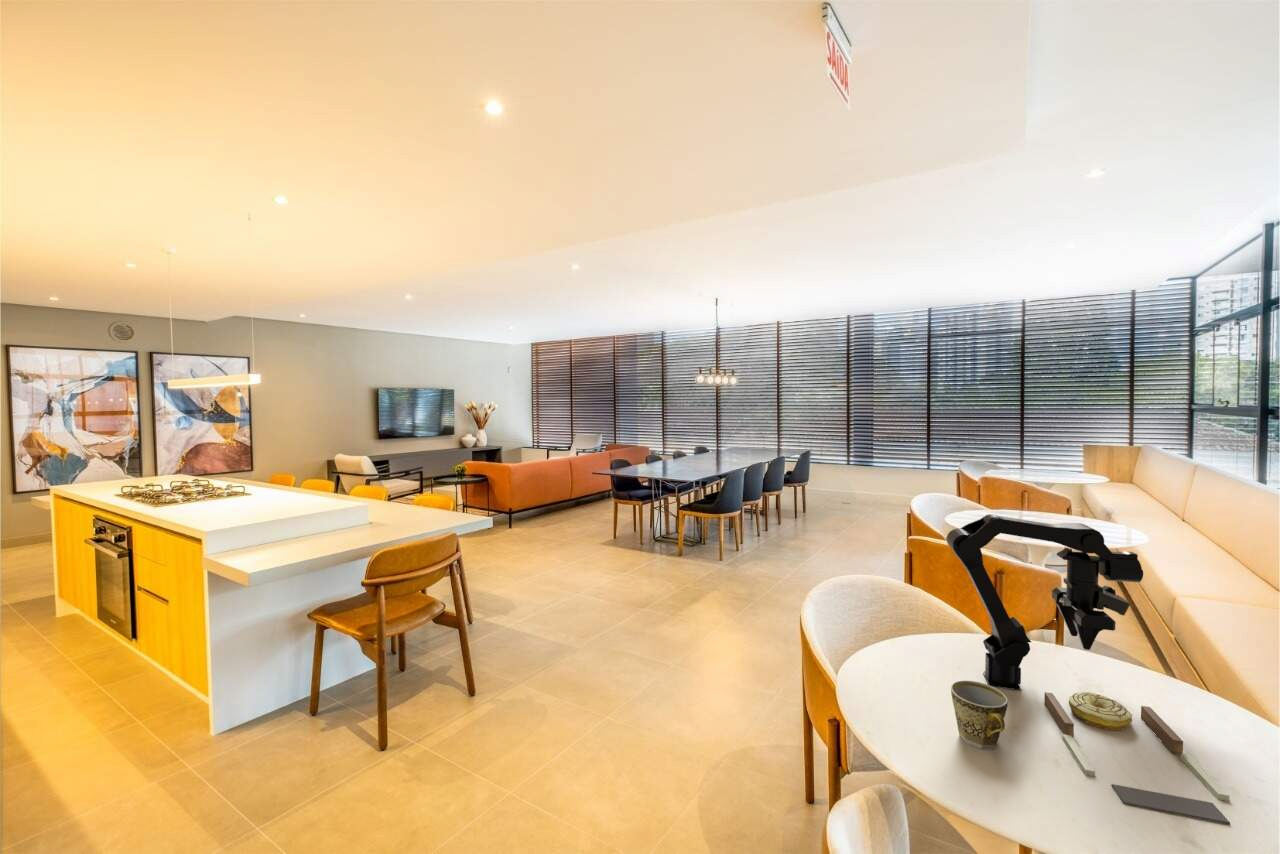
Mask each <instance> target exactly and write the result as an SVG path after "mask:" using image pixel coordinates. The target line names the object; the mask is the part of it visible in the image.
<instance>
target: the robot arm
mask: <svg viewBox="0 0 1280 854" xmlns="http://www.w3.org/2000/svg"><path fill="white" fill-rule="evenodd" d="M1000 534H1002V535H1003V534H1004V535H1008V536H1009V535H1010V536H1016V537H1021V538H1026V539H1027V538H1028V539H1032V540H1033V539H1034V540H1040V541H1045V542H1046V541H1047V542H1052V543H1056V544H1059V545H1061V546H1064V548H1063V549H1062V550H1060V551H1058V552H1057V553H1056V556H1058V557H1059V558H1061V559H1062V560H1064V561H1067V562H1066V563H1067V564H1066V565H1067V566H1066V577H1063V583H1064V584H1065V585H1066V587H1059V586H1058V587H1055V588H1052V589H1051V598H1052V599H1053V600H1054V601H1055V604H1056V606H1057V608H1058V610H1059V612H1060V614H1061V616H1062V619H1063V621H1064V623H1065V625H1066V628H1067V629H1068V632H1069V633H1070V636H1071V637H1077V636H1078V638H1079V640H1080V643H1081V645H1082V649H1083V650H1087V651H1089V650H1091V648H1092V646H1093V645H1094V642H1095V641H1096V638H1097V636H1098V634H1099V633H1100V632H1101V631H1104V630H1105V631H1116V621H1115V620H1114V619H1113V618H1112V617H1111V616H1110V615H1109V614H1107V613H1106V612H1105V611H1104V610H1105V609H1108V610H1110V611H1113V612H1115V613H1117V614H1119V615H1121V616H1125V615H1126V614H1127V611H1128V609H1129V607H1130V606H1131V602H1129V601H1128V600H1127V599H1125V598H1124V597H1122V596H1120V595H1119V594H1117V593H1116V590H1115V589H1114V588H1113V587H1112V586H1108V585H1103V586H1101V585H1099V577H1100V576H1102V577H1103V578H1104V580H1106V581H1108V582H1109V581H1112V582H1124V583H1125V582H1126V583H1141V582H1142V580H1143V579H1144V571H1143V568H1142V564H1141V562H1140V560H1139V559H1138V554H1137V553H1135V552H1133V551H1111V549H1109V547H1107V545H1106V544H1105V537H1104V535H1103V534H1102V533H1101V532H1100V531H1098V530H1097V529H1095V528H1093V527H1091V526H1089V525H1087V524H1084V523H1080V522H1060V523H1045V522H1041V521H1039V522H1038V521H1033V520H1026V519H1020V518H1014V517H1008V516H1001V515H997V514H994V513H990V514H989V513H988V514H986V515H985V516H983V517H981V518H980V519H977V520H975V521H972V522H970V523H967V524H965V525H964V526H962V527H960V528H954V529H952V530H950V531H949V532H948V533H947V536H946V539H945V540H946V544H947V545H948V547H949V548H950V549H951V551H952V553H954V555H955V556H956V557H957V558H958V560H959V561H960V562H961V563H962V565H963V567H964V568H965V570H966V572H967V574H968V576H969V578H970V579H971V582H972V584H973V586H974V588H975V589H976V592H977V594H978V596H979V598H980V600H981V603H982V604H983V607H984V608H985V611H986V613H987V614H988V617H989V623H990V628H991V631H992V633H991V635H989V636H988V637H987V638H985V639H984V640H983V641H982V643H983V645H984V648H985V650H987V652H985V664H984V665H985V670H983V672H982V674H983V677H984V678H985V679H986V682H987V685H990V686H992V687H994V688H1000V689H1001V688H1003V689H1008V690H1015V691H1016V690H1017V691H1020V690H1021V686H1020V685H1022V684H1021V683H1022V682H1021V681H1022V680H1021V679H1022V669H1021V666H1020V665H1021V664H1022V661H1023V660H1024V658H1025V657H1026V656H1027V655H1029V653H1030V651H1031V645H1030V644H1029V643H1032V641H1031V639H1030V638H1029V637H1028V635H1027V633H1026V630H1025V628H1024V625H1023V624H1022V623H1021V622H1020V621H1019V620H1018V619H1017V618H1016V617H1015V616H1011V617H1010V616H1009V613H1008V612H1007V609H1006V608H1005V606H1004V604H1003V602H1002V600H1001V598H1000V596H999V593H998V592H997V589H996V587H995V586H994V583H993V582H992V580H991V578H990V576H989V573H988V571H987V570H986V568H985V565H984V560H983V559H984V557H983V553H982V548H984V547H986V546H987V545H988V544H989V543H990V542H991V541H992V540H994V539H995V538H996V537H997V536H998V535H1000ZM1071 549H1073V550H1075V551H1073V550H1071ZM1089 554H1094V555H1089ZM1099 575H1100V576H1099ZM1104 608H1105V609H1104ZM1094 609H1097V610H1094Z"/></svg>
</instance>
